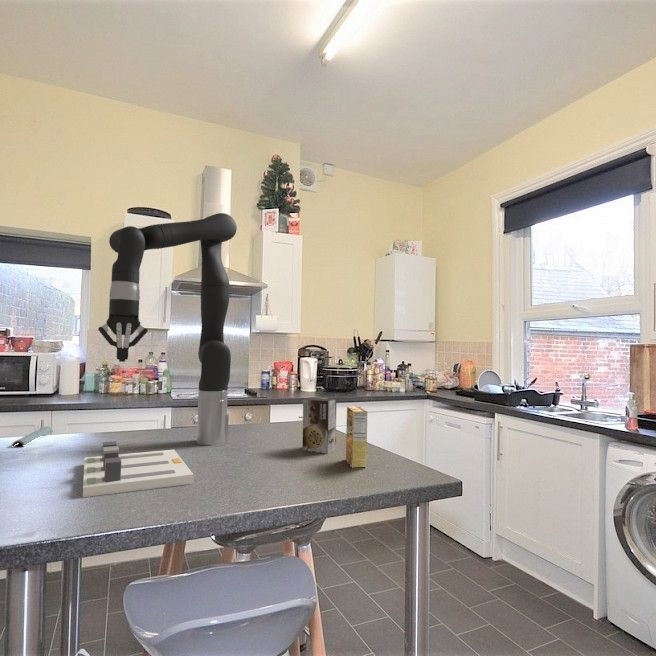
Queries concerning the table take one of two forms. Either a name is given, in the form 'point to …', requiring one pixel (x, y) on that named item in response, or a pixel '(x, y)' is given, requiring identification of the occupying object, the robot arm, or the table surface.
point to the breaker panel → (134, 472)
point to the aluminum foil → (34, 435)
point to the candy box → (356, 436)
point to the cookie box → (319, 424)
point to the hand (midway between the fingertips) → (121, 361)
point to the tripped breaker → (110, 453)
